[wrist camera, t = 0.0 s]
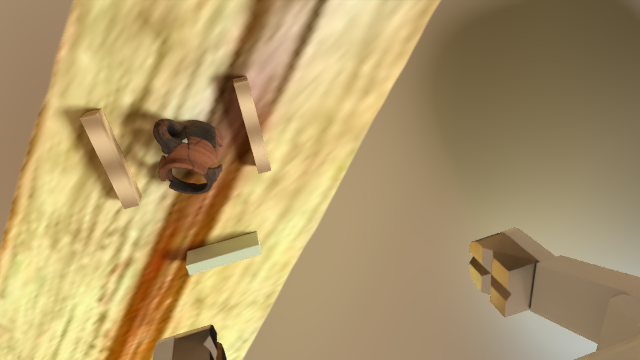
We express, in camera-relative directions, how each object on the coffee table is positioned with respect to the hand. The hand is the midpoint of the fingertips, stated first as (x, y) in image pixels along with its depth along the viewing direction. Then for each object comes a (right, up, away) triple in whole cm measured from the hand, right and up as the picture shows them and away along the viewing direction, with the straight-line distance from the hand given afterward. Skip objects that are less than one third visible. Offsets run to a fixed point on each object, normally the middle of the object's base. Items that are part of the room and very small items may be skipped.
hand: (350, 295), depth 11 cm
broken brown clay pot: (-21, +9, +45) cm, 51 cm away
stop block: (-17, -8, +54) cm, 57 cm away
